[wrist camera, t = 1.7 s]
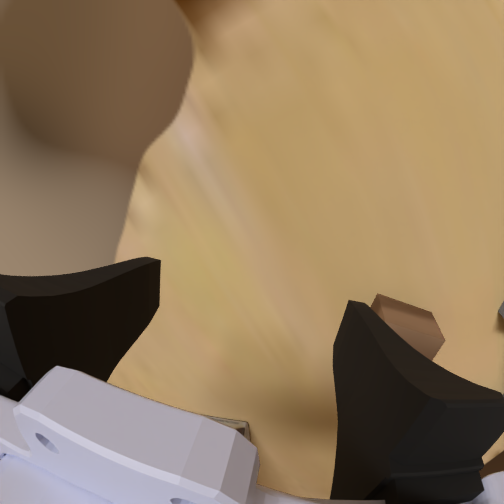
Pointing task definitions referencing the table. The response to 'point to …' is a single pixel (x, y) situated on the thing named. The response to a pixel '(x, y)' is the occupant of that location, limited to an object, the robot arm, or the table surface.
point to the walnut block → (410, 324)
